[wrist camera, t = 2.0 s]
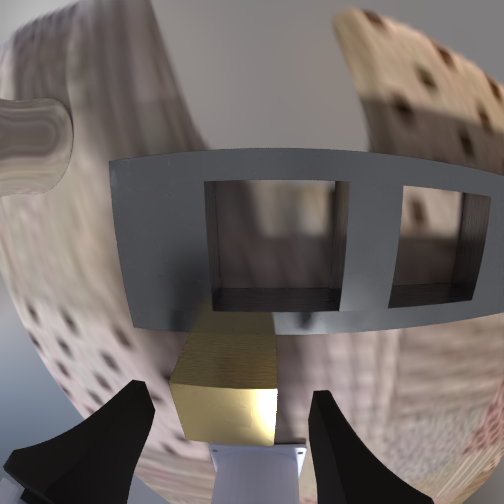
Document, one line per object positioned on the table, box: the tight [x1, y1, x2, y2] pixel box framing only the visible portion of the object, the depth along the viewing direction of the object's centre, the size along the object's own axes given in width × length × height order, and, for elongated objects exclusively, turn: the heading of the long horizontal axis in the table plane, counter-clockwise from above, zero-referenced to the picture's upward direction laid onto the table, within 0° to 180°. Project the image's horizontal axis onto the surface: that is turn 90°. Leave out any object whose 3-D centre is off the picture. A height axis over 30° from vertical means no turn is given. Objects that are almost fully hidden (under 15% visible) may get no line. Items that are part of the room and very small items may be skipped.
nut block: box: [168, 332, 277, 446], centre depth 13 cm, size 4×4×6 cm
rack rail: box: [109, 148, 504, 335], centre depth 12 cm, size 8×22×2 cm, turn 91°
